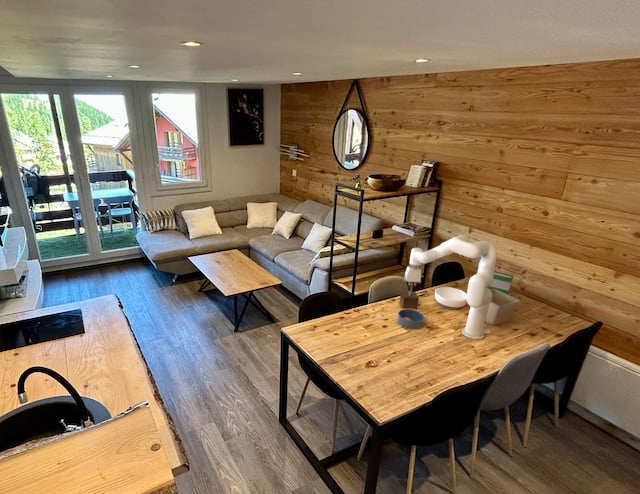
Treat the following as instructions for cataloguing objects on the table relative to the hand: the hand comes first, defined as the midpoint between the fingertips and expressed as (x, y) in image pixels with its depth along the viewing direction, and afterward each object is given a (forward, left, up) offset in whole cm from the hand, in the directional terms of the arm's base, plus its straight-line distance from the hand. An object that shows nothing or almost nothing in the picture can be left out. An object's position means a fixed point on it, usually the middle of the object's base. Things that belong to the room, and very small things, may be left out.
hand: (410, 290), depth 272 cm
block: (+8, +27, -12) cm, 31 cm away
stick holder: (0, 0, -13) cm, 13 cm away
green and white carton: (-61, -9, -13) cm, 63 cm away
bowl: (-31, -6, -13) cm, 34 cm away
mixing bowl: (+4, +25, -13) cm, 28 cm away
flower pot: (-52, +14, -13) cm, 55 cm away
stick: (0, 0, -13) cm, 13 cm away
